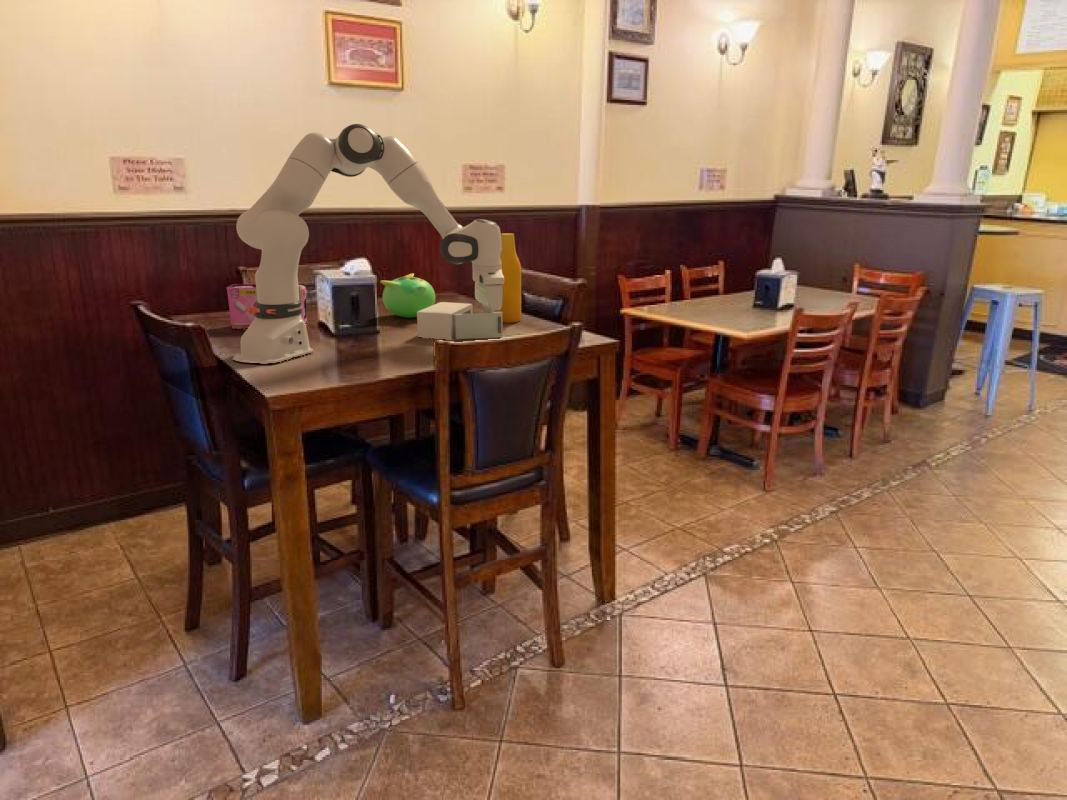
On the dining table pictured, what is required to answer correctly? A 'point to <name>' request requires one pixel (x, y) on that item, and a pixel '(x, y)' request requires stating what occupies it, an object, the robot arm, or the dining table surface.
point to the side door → (476, 325)
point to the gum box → (253, 302)
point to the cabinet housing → (440, 319)
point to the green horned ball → (407, 295)
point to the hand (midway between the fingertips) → (487, 319)
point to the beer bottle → (510, 280)
